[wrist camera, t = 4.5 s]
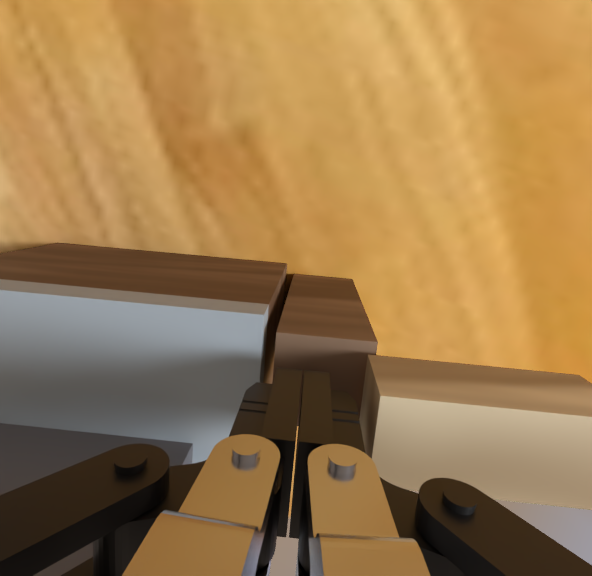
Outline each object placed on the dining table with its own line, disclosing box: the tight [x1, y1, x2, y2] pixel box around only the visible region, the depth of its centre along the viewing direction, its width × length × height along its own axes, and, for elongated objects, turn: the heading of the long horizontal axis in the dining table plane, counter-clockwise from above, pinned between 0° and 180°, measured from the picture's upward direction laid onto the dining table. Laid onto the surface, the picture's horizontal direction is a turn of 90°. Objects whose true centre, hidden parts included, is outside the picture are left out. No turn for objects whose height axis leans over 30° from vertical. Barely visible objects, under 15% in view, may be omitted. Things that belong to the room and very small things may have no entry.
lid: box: [0, 279, 269, 576], centre depth 12 cm, size 12×12×7 cm
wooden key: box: [359, 355, 592, 510], centre depth 11 cm, size 2×6×2 cm, turn 85°
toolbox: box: [0, 243, 378, 426], centre depth 18 cm, size 12×15×9 cm
